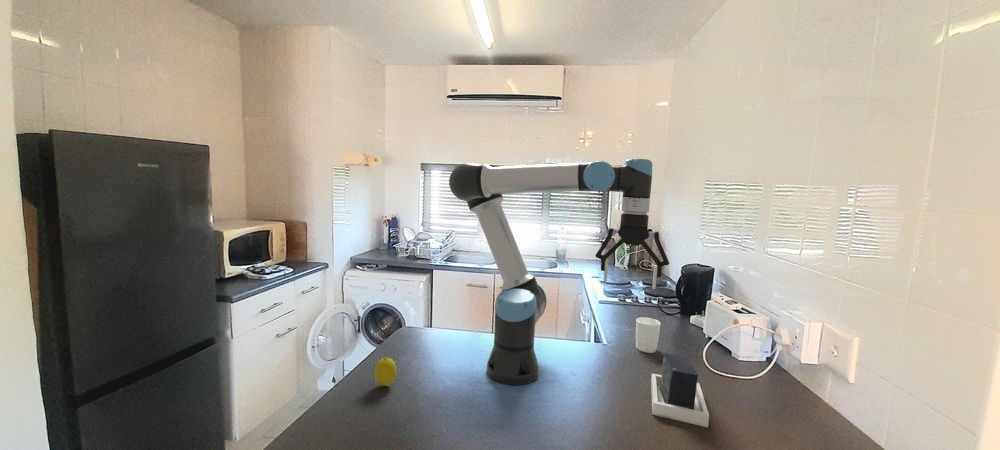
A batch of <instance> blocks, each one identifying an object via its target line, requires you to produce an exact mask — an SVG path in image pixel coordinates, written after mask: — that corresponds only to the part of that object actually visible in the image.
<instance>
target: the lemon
mask: <svg viewBox="0 0 1000 450" xmlns="http://www.w3.org/2000/svg"><path fill="white" fill-rule="evenodd" d="M395 362H396V361H394V360H393V359H392V358H390V357H387V356H385V357H383V358H380V360H378V362H377V363H376V364H375V368H374V379H375V382H376V383H377V384H378V385H380V386H382V387H384V386H386V387H387V386H389V385H391V384H392V383H393V382H394V381H395V379H396V376H397V366H396V363H395Z"/></svg>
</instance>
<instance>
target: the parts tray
mask: <svg viewBox="0 0 1000 450" xmlns="http://www.w3.org/2000/svg"><path fill="white" fill-rule="evenodd" d="M661 377H662V374H656V373H651V377H650V379H651V380H650V388H651V389H650V390H651V391H650V393H651V410H652V411H651V413H652V415H653V416H657V417H662V418H666V419H671V420H674V421H678V422H683V423H686V424H691V425H696V426H699V427H703V428H709V422H710V421H709V420H710V414H709V409H708V407H707V404H706V401H705V398H704V397H705V396H704V394H703V391H702V388H701V385H700V383H699V382H697V387H696V395H695V404H694V410H692V409H688V408H683V407H679V406H675V405H670V404H666V403H665V402H664V399H663V397H662V394H661V391H660V384H661Z"/></svg>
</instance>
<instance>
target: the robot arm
mask: <svg viewBox="0 0 1000 450" xmlns="http://www.w3.org/2000/svg"><path fill="white" fill-rule="evenodd" d="M652 179H653V162H652V161H651V160H650V159H648V158H629V159H626V160H625V162H624V165H611V164H610V163H608V162H607V161H604V160H594V161H593V162H580V163H579V162H574V163H573V162H571V163H570V162H569V163H557V164H555V163H553V164H536V165H535V164H533V165H513V166H512V165H511V166H494V167H493V166H491V165H490V164H488V163H484V164H483V163H481V164H480V163H479V164H478V163H471V162H466V163H465V162H464V163H461V164H459V165H457V166H456V167H454V169H452V171H451V173H450V175H449V179H448V186H449V189H450V192H451V193H452V195H454V197H456V198H457V199H459V200H461V201H464V202H466V203H467V206H468V209H469V211H470V212H471V213H474V214H475V215H476V216H477V218H478V221H479V223H480V226H481V230H482V231H483V233H484V234H483V235H484V236H485V239H486V241H487V244H488V246H489V248H490V252H491V253H492V257H493V259H494V261H495V264H496V266H497V269H498V272H499V274H500V276H501V277H500V278H501V280H502V282H503V283H502V285H501V288H500V289H501V292H499V293H498V294H497V296H496V300H495V302H494V303H495V304H494V311H495V312H494V314H495V315H494V334H493V335H494V336H493V346H492V349H491V352H490V354H489V357H488V360H487V362H486V374H487V373H488V374H487V376H488V377H489V376H490V377H489V378H491V379H492V380H494V381H495V382H498V383H500V384H503V385H504V384H505V385H509V386H510V385H511V386H522V385H526V384H531V383H532V382H534V381H536V380H537V379H538V377H539V367H540V366H539V362H538V358H537V355H536V351H535V333H536V331H535V330H536V324H537V323H538V321H539V319H540V318H541V317H542V316H543V314H544V313H545V310H546V307H547V302H548V299H547V295H546V292H545V290H544V288H543V287H542V286H540V284H538V282H537V279H536V277H535V275H534V274H531V273H529V271H528V270H527V266H526V263H525V262H524V259H523V256H522V254H521V252H520V249H519V246H518V245H517V241H516V240H515V237H514V234H513V231H512V229H511V227H510V225H509V221H508V219H507V216H506V214H505V212H504V209H503V206H502V202H503V200H504V197H503V194H527V193H528V194H531V193H535V194H536V193H561V192H562V193H564V192H566V193H567V192H569V193H570V192H617V193H622V198H621V199H622V202H621V211H622V213H621V215H620V225H619V229H616V228H613V227H609V229H608V233H607V236H606V237H605V240H604V241H603V242H602V244H601V246H600V247H599V249H598V251H597V252H596V254H595V257H596V258H597V259H599V260H600V261H601V262H600V271H601V272H604V274H603V283H604V284H606V283H607V282H608V272H609V271H608V270H609V261H610V260H609V259H608V258H609V257H610V256H611V255H612V254H613V253H614V252H615V251H617V250H618V249H619V248H620V247H621V246H622V245H623V244H625V245H626V246H632V245H633V246H636V247H638V246H640V245H641V246H642V247H643V249H644V250H645V252H647V254H648V255H649V256H650V258H652V260H653V261H654V263H655V264H654V265H653V275H652V285H651V286H652V290H656V288H657V287H656V286H657V278H661V276H662V268H663V267H664V266H669V265H670V262H669V259H668V257H667V254H666V253H665V249H664V247H663V246H662V243H661V241H660V240H661V239H660V232H659V231H657V230H655V231H648V229H649V228H648V227H649V212H650V205H651V193H652V182H653V180H652ZM647 213H648V214H647ZM616 235H618V236H619V237H620V239H619V240H618V241H617V242H615V244H614V245H613V246H611V247H610V248H609V249H608V251H606V252H605V253H604V254H602V253H603V252H604V250H605V248H606V247H607V245H608V244H609V243H610V240H611V239H612V237H615V236H616ZM648 237H650V239H652V240H654V242H655V245H656V247H657V250H658V251H659V254H660V256H661V259H662V260H660V258H659V257H658V256H657V255H656V253H655V252H654V251H653V249H652V248H651V247H650V245H649V244H648V243H647V242H646V240H647V238H648Z"/></svg>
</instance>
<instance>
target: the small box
mask: <svg viewBox="0 0 1000 450" xmlns="http://www.w3.org/2000/svg"><path fill="white" fill-rule="evenodd" d="M662 356H663V357H662V358H663V359H662V369H661V375H662V377H661V384H660V391H661V394H662V397H663V399H664V402H665V403H666V404H670V405H675V406H679V407H683V408H688V409H692V410H694V404H695V395H696V387H697V383H698V379H699V374H698V372H697V370H696V368H695V367H694V366H693V364H692V363H691V361H690V359H689V358H688V356H684V355H676V354H671V353H665V352H664V353H663V355H662Z"/></svg>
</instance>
